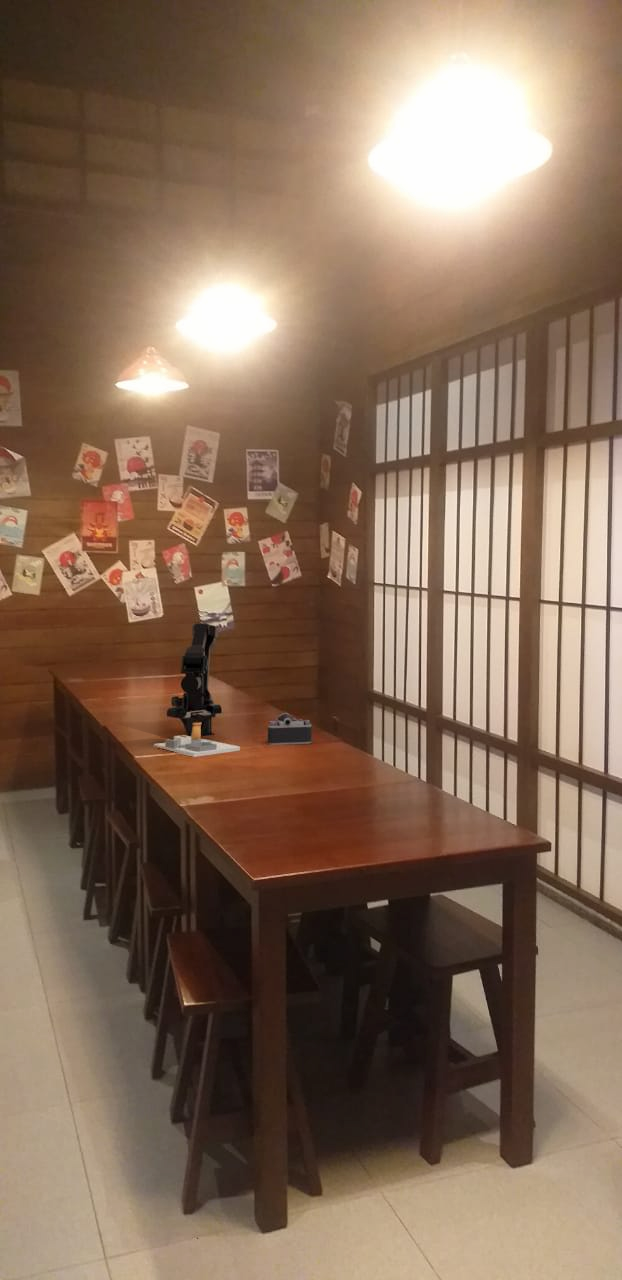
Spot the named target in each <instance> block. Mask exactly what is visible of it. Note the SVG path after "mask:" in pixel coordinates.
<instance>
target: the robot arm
mask: <svg viewBox="0 0 622 1280" xmlns="http://www.w3.org/2000/svg"><path fill="white" fill-rule="evenodd" d="M218 633H219V632H218V628H217V626H215V625H212V624H209V623H208V622H203V623H202V622H199V623H198V622H196V623H194V625H192V628H191V637H192V641H191V644H190V646H189V647H188V648H186V649H185V652H184V655H182V659H181V668H180V674H185V675H184V677H183V678H182V679H181V681H180V687H181V689H182V691H183V694H182V697H179V696H178V695H177V696H172V697H171V700H170V702H171V706H172V707H168V709H167V710H166V717H169V718H173V719H179V720H180V721H181V722H182V724H183V727H184V729H185V732H186V736H190V737H191V734H192V726H193V722H202V724H201V737H203V736H209V735H215V732H213V729H212V725H213V724H212V719H213V718H216V716H217V715H218V714H222V713H223V708H222V705H220V704H217V703H215V702H214V700H213V697H212V695H211V693H210V691H209V680H210V664H211V663H210V662H211V650H213V648H214V647H215V645H216V640H217V639H218ZM216 714H217V715H216Z"/></svg>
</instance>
